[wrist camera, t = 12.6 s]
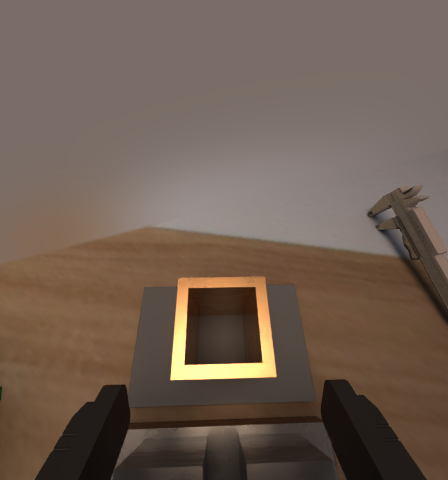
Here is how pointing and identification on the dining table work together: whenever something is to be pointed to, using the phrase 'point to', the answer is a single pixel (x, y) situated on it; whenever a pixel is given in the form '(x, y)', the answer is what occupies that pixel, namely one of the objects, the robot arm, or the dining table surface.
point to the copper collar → (222, 303)
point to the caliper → (416, 234)
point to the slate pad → (218, 355)
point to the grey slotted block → (227, 450)
